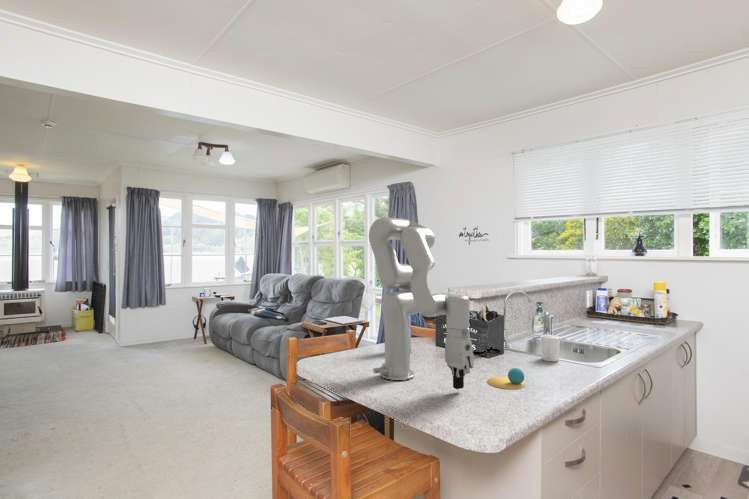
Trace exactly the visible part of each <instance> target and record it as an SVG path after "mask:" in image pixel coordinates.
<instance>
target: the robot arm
mask: <svg viewBox="0 0 749 499" xmlns="http://www.w3.org/2000/svg"><path fill="white" fill-rule="evenodd" d="M368 232H369V233H368V240H369V245H370V247H371V250H372V253H373V256H374V260H375V265H376V269H377V274H378V278H379V282H380V285H381V287H382V288H385V289H386V290H395V289H396V290H398V289H399V291H393V292H390V293H387V294H386V295H385V296H384V297H383V299H382V301H381V312H382V316H383V323H384V327H383V328H384V363H382V364H381V366H380V367H374V368H372V372H373V374H380V377H381V376H382V377H383V379H384V378H386V379H385V380H387V379H391V380H390V381H393V380H403V381H408V380H407V379H409V380H411V378H412V379H413V378H414V377H415V372H414V371H413V370H411V354H410V328H409V324H408V321H407V319H406V316H413V315H416V314H419V313H420V314H421V315H422V316H424V317H427V318H434V317H438V316H445V315H446V336H445V345H444V346H445V347H444V362H445V363H446V366H447V367H448V368H449V369H450V370H451V376H452V387H453V389H456V390H459V389H464V388H465V386H464V384H465V383H464V382H465V379H464V377H466V375H469V374H471V369H473V368H474V365H475V364H474V363H475V362H474V353H473V347H472V341H471V338H470V328H469V327H470V323H469V319H470V298H469V296H466V295H463V294H462V295H460V294H450V293H447V292H440V293H432V291H431V289H430V287H429V284H428V275H429V272H430V271H431V270H432V269H433V268H434V267H435V262H436V261H435V259H434V258H433V255H432V253H431V251H430V249H431V248H432V247H433V246H434V244H435V242H436V240H435V235H434V232H433V231H432V230H431V229H430V228H429V227H426V226H424V225H422V224H419V223H418V222H415V221H412V220H410V219H406V218H401V217H399V218H398V217H380V218H377V219H375V220H374V222H372V224H371V226H370V228H369V231H368ZM390 241H400V243H401V246H402V248H403V251H404V254H405V257H406V258H407V260H408V263H409V264H408V263H399V260H398V257H397V252H396V250H395V247H394V246H393V245H392V244H391V242H390ZM382 377H381V378H382Z"/></svg>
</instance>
